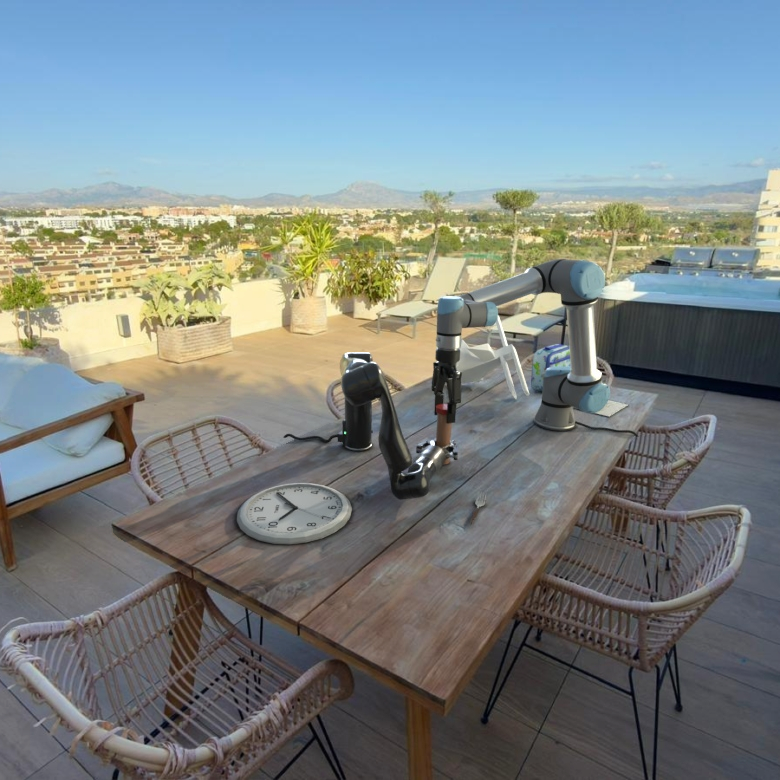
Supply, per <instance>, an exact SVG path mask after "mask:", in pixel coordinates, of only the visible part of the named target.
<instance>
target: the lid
mask: <svg viewBox="0 0 780 780" xmlns="http://www.w3.org/2000/svg"><path fill="white" fill-rule="evenodd" d="M436 412H437V413H439V414H443V415H447V403H443V404H439V405H437V406H436Z"/></svg>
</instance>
